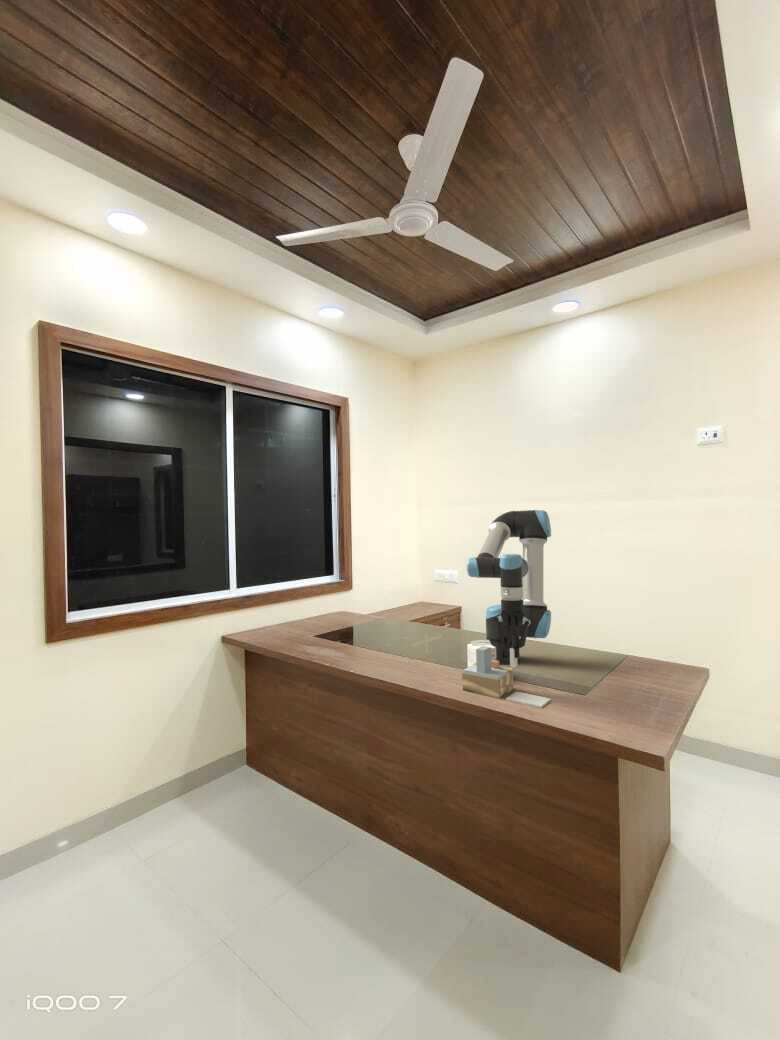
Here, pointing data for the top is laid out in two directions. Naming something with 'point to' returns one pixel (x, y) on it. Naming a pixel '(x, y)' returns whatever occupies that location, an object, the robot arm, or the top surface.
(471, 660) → the ink box
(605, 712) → the top surface
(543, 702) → the mat
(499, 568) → the robot arm
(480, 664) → the lid
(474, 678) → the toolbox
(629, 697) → the top surface
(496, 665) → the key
